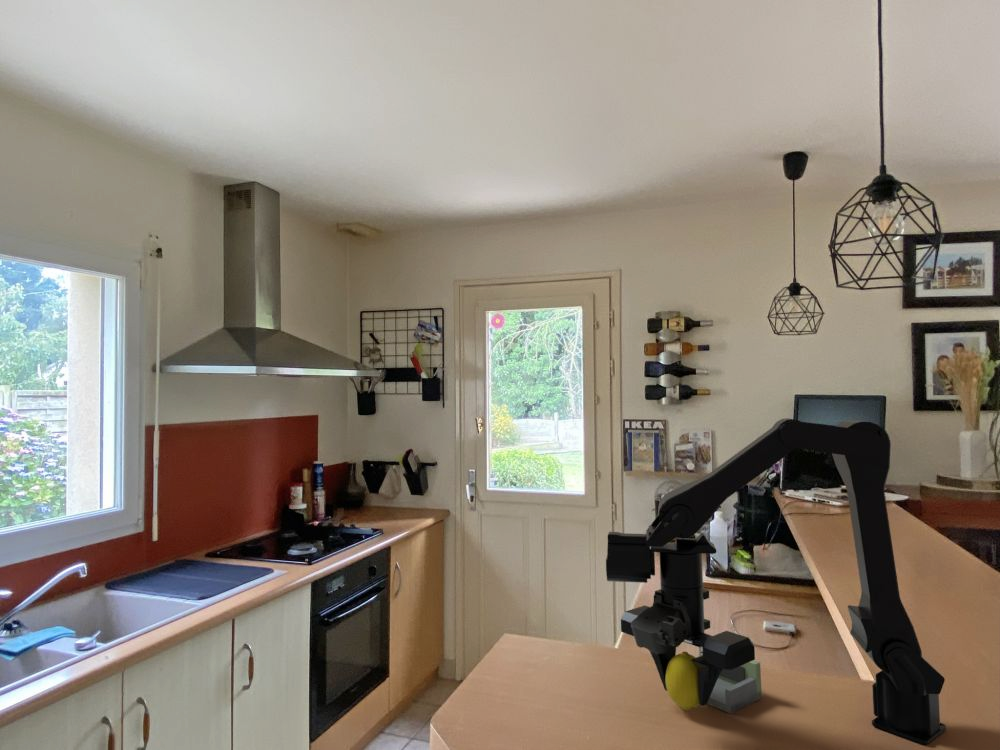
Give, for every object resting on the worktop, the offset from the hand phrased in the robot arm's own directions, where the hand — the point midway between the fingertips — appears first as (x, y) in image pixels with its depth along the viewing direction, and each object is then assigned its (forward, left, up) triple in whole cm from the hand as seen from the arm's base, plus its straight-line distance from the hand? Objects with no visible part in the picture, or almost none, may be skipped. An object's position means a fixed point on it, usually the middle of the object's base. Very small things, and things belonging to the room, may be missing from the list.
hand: (685, 697), depth 91 cm
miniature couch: (0, -8, -2) cm, 8 cm away
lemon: (0, 0, -2) cm, 2 cm away
